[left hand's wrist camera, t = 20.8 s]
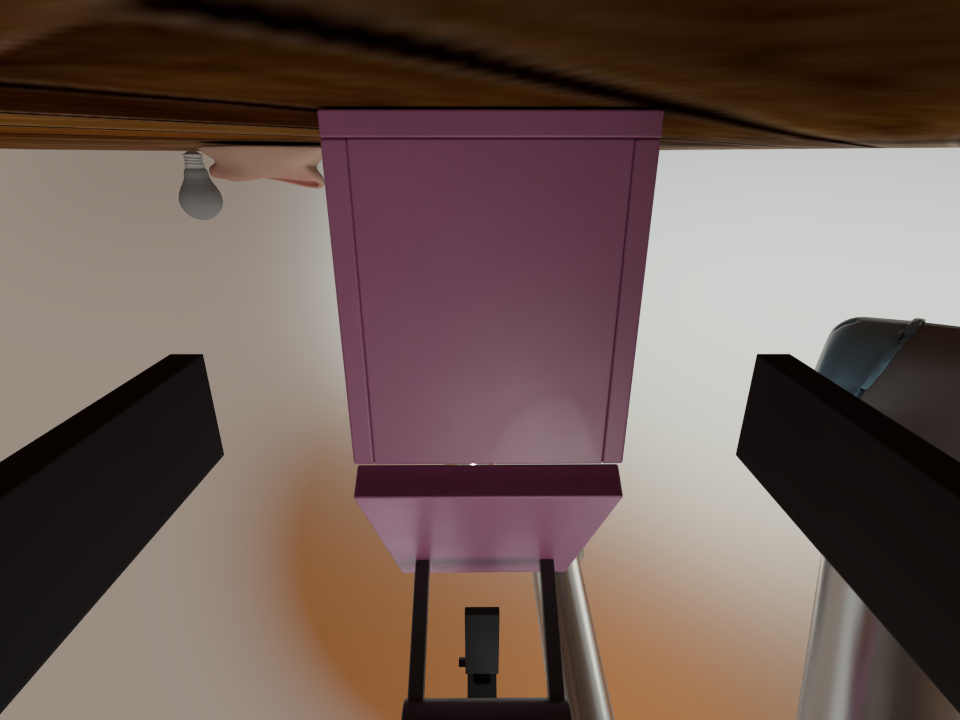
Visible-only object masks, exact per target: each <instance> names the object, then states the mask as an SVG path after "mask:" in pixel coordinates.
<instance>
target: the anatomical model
mask: <svg viewBox="0 0 960 720" xmlns="http://www.w3.org/2000/svg"><path fill="white" fill-rule="evenodd" d="M198 149H199V150H200V151H202V152H203V153H204V154H206V155H208V156H209V157H211V158H213V159H214V160H215V163H214V164H213V165H212V166H211V167H210V169H209V172H210V175H211V176H212V177H215V178H221V179H227V180H231V181H248V180H253V179H260V178H265V179H272V180H277V181H282V182H287V183H291V184H295V185H300V186H304V187H310V188H322V187H323V186H324V184H325V181H324V178H323V176H322V175H321V174H320V173H319V171H318V170H317V165H318V163H319V162H320V161H321V160H322V150H321V146H300V145H204V146H198Z"/></svg>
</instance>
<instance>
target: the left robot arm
mask: <svg viewBox="0 0 960 720" xmlns="http://www.w3.org/2000/svg"><path fill="white" fill-rule="evenodd" d="M223 455H224V452H223V448H222V443H221V438H220V433H219V429H218V424H217V419H216V415H215V410H214V405H213V400H212V395H211V391H210V386H209V381H208V377H207V372H206V367H205V362H204V358H203V354H170V355H169V356H167V357H165V358H164V359H162V360H161V361H159V362H158V363H156V364H154V365H153V366H151V367H150V368H148V369H147V370H145V371H143V372H142V373H140V374H139V375H137V376H135V377H134V378H132V379H131V380H129V381H128V382H126V383H124V384H123V385H121V386H120V387H118V388H116V389H115V390H113V391H112V392H110V393H109V394H107V395H105V396H104V397H102V398H101V399H99V400H97V401H96V402H94V403H93V404H91V405H90V406H88V407H86V408H85V409H83V410H82V411H80V412H79V413H77V414H75V415H74V416H72V417H71V418H69V419H68V420H66V421H64V422H63V423H61V424H60V425H58V426H56V427H55V428H53V429H52V430H50V431H49V432H47V433H45V434H44V435H42V436H41V437H39V438H37V439H36V440H34V441H33V442H31V443H30V444H28V445H26V446H25V447H23V448H22V449H20V450H19V451H17V452H15V453H14V454H12V455H11V456H9V457H7V458H6V459H4V460H3V461H1V462H0V714H1V713H2V711H3V710H4V709H5V708H6V707H7V706H8V704H9V703H10V702H11V701H12V700H13V699H14V698H15V696H16V695H17V694H18V693H19V692H20V691H21V689H22V688H23V687H24V686H25V685H26V684H27V683H28V681H29V680H30V679H31V678H32V677H33V676H34V674H35V673H36V672H37V671H38V670H39V669H40V667H41V666H42V665H43V664H44V663H45V662H46V661H47V659H48V658H49V657H50V656H51V655H52V653H53V652H54V651H55V650H56V649H57V648H58V647H59V645H60V644H61V643H62V642H63V641H64V640H65V638H66V637H67V636H68V635H69V634H70V633H71V632H72V630H73V629H74V628H75V627H76V626H77V625H78V623H79V622H80V621H81V620H82V619H83V618H84V616H85V615H86V614H87V613H88V612H89V611H90V610H91V608H92V607H93V606H94V605H95V604H96V603H97V601H98V600H99V599H100V598H101V597H102V596H103V594H104V593H105V592H106V591H107V590H108V589H109V588H110V586H111V585H112V584H113V583H114V582H115V581H116V579H117V578H118V577H119V576H120V575H121V574H122V572H123V571H124V570H125V569H126V568H127V567H128V566H129V564H130V563H131V562H132V561H133V560H134V559H135V557H136V556H137V555H138V554H139V553H140V552H141V550H142V549H143V548H144V547H145V546H146V545H147V543H148V542H149V541H150V540H151V539H152V538H153V537H154V535H155V534H156V533H157V532H158V531H159V529H160V528H161V527H162V526H163V525H164V524H165V523H166V521H167V520H168V519H169V518H170V517H171V516H172V515H173V513H174V512H175V511H176V510H177V509H178V508H179V506H180V505H181V504H182V503H183V502H184V501H185V499H186V498H187V497H188V496H189V495H190V494H191V493H192V491H193V490H194V489H195V488H196V487H197V486H198V484H199V483H200V482H201V481H202V480H203V479H204V477H205V476H206V475H207V474H208V473H209V472H210V470H211V469H212V468H213V467H214V466H215V465H216V464H217V462H218V461H219V460H220V459H221V458H222V457H223ZM736 455H737V456H738V458H739V459H740V460H741V461H742V462H743V463H744V465H745V466H746V467H747V468H748V469H749V470H750V472H751V473H752V474H753V475H754V476H755V477H756V479H757V480H758V481H759V482H760V483H761V484H762V486H763V487H764V488H765V489H766V490H767V491H768V493H769V494H770V495H771V496H772V497H773V498H774V499H775V501H776V502H777V503H778V504H779V505H780V506H781V508H782V509H783V510H784V511H785V512H786V513H787V515H788V516H789V517H790V518H791V519H792V520H793V521H794V523H795V524H796V525H797V526H798V527H799V528H800V530H801V531H802V532H803V533H804V534H805V535H806V537H807V538H808V539H809V540H810V541H811V542H812V543H813V545H814V546H815V547H816V548H817V549H818V550H819V552H820V553H821V561H820V567H819V574H818V580H817V587H816V593H815V600H814V607H813V613H812V620H811V626H810V633H809V640H808V646H807V653H806V659H805V666H804V672H803V679H802V685H801V692H800V698H799V705H798V712H797V718H796V720H960V327H957V326H948V325H940V324H932V323H925V319H914V320H912V321H905V320H893V319H882V318H870V317H857V318H852V319H848V320H846V321H844V322H842V323H840V324H839V325H838V326H836V327H835V328H834V329H833V330H832V332H831V333H830V335H829V337H828V339H827V341H826V343H825V346H824V348H823V350H822V353H821V355H820V358H819V360H818V363H817V365H816V368H815V370H813V369H812V368H810V367H809V366H807V365H806V364H804V363H803V362H801V361H799V360H798V359H796V358H795V357H793V356H791V355H790V354H757V358H756V362H755V367H754V372H753V377H752V381H751V386H750V391H749V395H748V400H747V405H746V410H745V414H744V419H743V424H742V429H741V433H740V438H739V443H738V448H737V452H736Z"/></svg>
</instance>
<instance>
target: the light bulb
mask: <svg viewBox="0 0 960 720" xmlns="http://www.w3.org/2000/svg"><path fill="white" fill-rule="evenodd" d="M183 156H184V158H185V160H184V161H185V162H186V163H185V170H184V181H183V184H182V186H181V189H180V192H179V202H180V205H181V207H182V208H183V210H184V211H185V212H186V213H187V214H189V215H190V216H192V217H193V218H196V219H200V220H208V219H211V218H214V217H215V216H217V215H218V213H219V212H220V210H221V208H222V205H223V200H222V196H221V194H220V192H219V190H218V189H217V187H216V186H215V185H214V184H213V182H212V181H211V179H210V178H209V174H208V172H207V170H206V169H205V166H204V164H203V162H202V160H203V159H202V154H200V153H198V152H197V151H187V152H186V153H184V154H183Z"/></svg>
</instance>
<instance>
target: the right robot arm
mask: <svg viewBox="0 0 960 720" xmlns="http://www.w3.org/2000/svg"><path fill="white" fill-rule="evenodd" d="M444 465H497V464H444ZM583 556H584V551H583V549H582V550H581V552H580V553H579V554H578V556H577V557H576V558H575V560H574V561H573V562H572V563H571V565H570V566H569V567H568V569H567V570H566V571H565V572H555V580H556V592H557V605H558V618H559V630H560V643H561V655H562V668H563V680H564V693H565V697H566V698H567V699H568V701H569V704H570V709H571V716H572V720H615V718H614V714H613V710H612V705H611V701H610V696H609V692H608V687H607V683H606V678H605V674H604V669H603V665H602V660H601V656H600V651H599V647H598V642H597V638H596V633H595V629H594V624H593V620H592V615H591V611H590V606H589V602H588V597H587V593H586V589H585V584H584V580H583V575H582V571H581V566H580V563H581V561H582V559H583ZM532 575H533V583H534V590H535V598H536V605H537V613H538V621H539V628H540V636H541V643H542V651H543V658H544V666H545V674H546V660H545V645H544V630H543V614H542V599H541V583H540V572H532ZM498 662H499V607H465V657H459V667H466V674H468V698H497V697H496V674H498ZM546 681H547V676H546Z"/></svg>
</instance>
